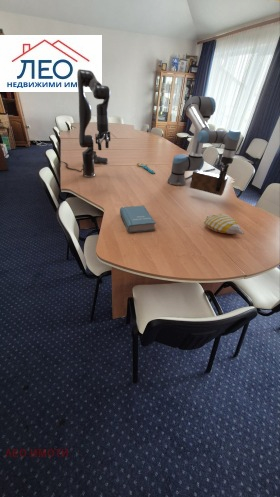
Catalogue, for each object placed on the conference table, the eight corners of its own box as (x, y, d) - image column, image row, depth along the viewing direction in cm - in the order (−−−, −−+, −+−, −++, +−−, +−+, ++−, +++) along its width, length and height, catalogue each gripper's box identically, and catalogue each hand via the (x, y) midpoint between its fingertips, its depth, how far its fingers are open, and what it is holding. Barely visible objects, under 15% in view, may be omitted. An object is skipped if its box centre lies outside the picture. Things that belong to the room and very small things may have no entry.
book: (154, 230, 131) (155, 222, 128) (128, 232, 126) (128, 225, 124) (143, 212, 148) (143, 205, 145) (119, 214, 144) (120, 207, 141)
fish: (254, 225, 128) (232, 232, 118) (249, 236, 132) (228, 244, 123) (221, 208, 144) (199, 213, 134) (217, 218, 149) (196, 224, 139)
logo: (136, 163, 238) (136, 163, 238) (145, 163, 241) (145, 162, 240) (146, 174, 213) (146, 173, 212) (155, 173, 215) (155, 172, 215)
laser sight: (105, 165, 227) (104, 155, 221) (84, 162, 230) (83, 152, 224) (108, 162, 235) (108, 152, 229) (88, 160, 238) (87, 150, 232)
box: (189, 187, 168) (192, 171, 161) (192, 185, 172) (195, 169, 165) (221, 195, 159) (226, 179, 152) (223, 193, 163) (228, 177, 156)
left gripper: (104, 121, 152) (105, 146, 162) (91, 123, 142) (92, 150, 152) (113, 122, 150) (113, 148, 159) (100, 124, 139) (101, 151, 149)
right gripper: (230, 160, 139) (220, 195, 152) (236, 154, 152) (226, 187, 166) (218, 158, 142) (209, 192, 155) (225, 152, 155) (216, 184, 169)
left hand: (103, 149), depth 155 cm, fingers open, 8 cm apart
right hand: (218, 189), depth 161 cm, fingers closed on box, 6 cm apart
